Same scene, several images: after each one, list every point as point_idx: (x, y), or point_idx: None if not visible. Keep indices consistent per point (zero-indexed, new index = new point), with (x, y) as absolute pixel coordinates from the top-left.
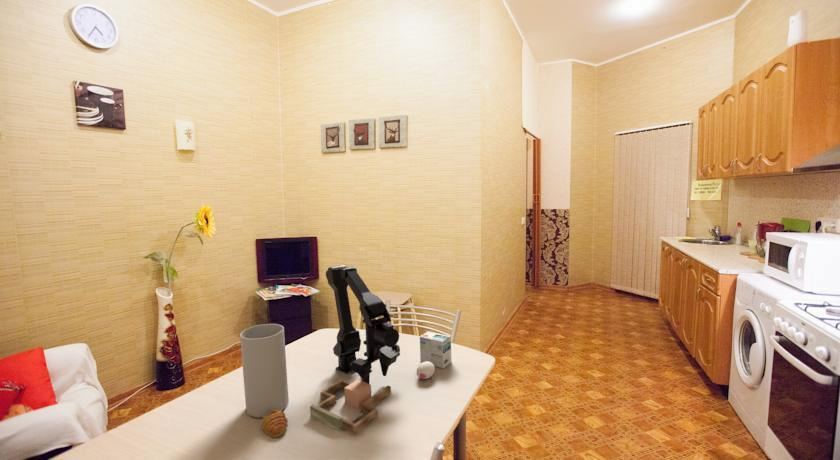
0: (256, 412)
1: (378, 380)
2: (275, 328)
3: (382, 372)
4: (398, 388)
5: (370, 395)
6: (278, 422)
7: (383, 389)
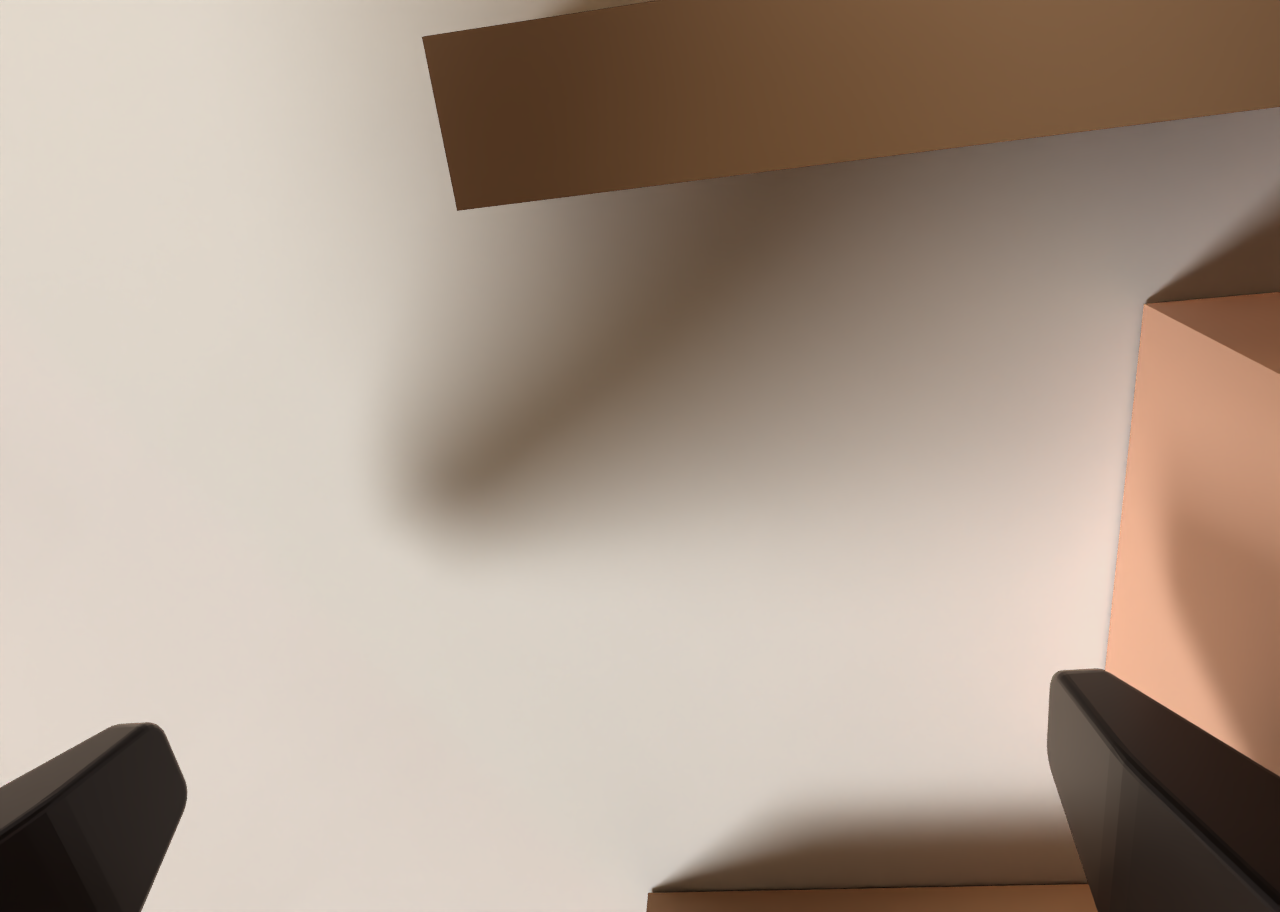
0: None
1: (329, 793)
2: None
3: (131, 903)
4: (134, 88)
5: (1275, 341)
6: None
7: (829, 103)
